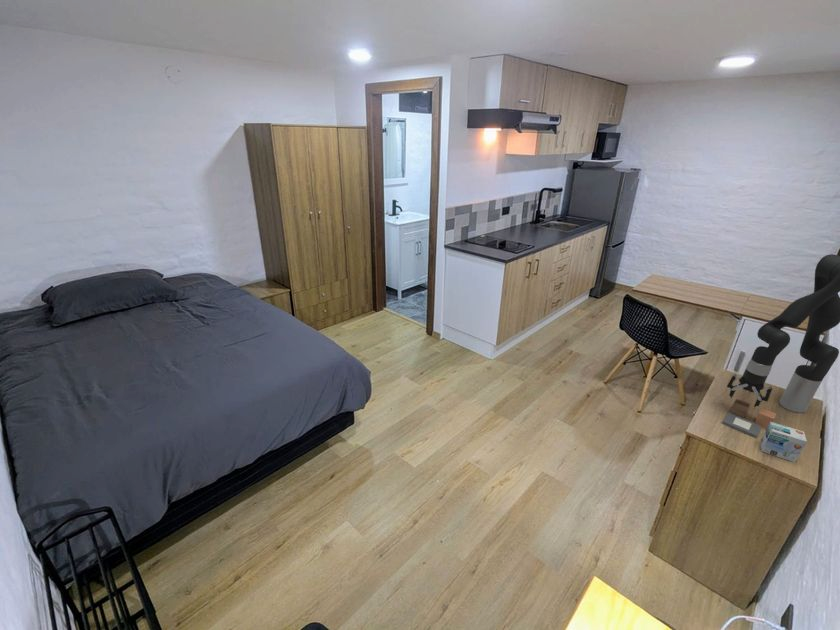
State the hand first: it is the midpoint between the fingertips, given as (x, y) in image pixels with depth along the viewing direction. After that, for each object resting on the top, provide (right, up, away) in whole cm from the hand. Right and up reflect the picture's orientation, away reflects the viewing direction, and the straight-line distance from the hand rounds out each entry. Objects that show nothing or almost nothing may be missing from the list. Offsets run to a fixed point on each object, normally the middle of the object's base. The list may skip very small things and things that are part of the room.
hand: (742, 401), depth 173 cm
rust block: (+6, -9, -2) cm, 12 cm away
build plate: (-3, -10, -3) cm, 11 cm away
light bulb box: (0, -17, -17) cm, 24 cm away
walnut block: (0, -6, +4) cm, 7 cm away
